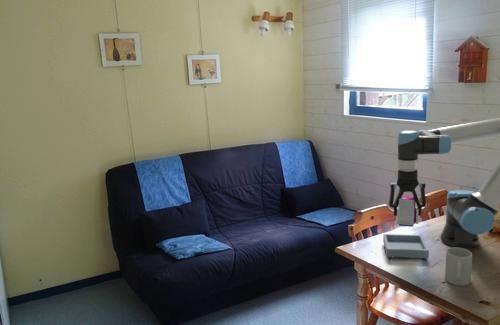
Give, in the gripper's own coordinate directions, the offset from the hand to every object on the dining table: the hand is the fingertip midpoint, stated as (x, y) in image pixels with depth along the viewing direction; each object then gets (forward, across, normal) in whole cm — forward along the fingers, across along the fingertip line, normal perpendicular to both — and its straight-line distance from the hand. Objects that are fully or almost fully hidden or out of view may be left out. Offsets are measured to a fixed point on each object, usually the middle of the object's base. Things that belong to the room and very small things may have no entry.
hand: (407, 222), depth 174 cm
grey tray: (+14, +1, -1) cm, 14 cm away
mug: (+14, -14, +24) cm, 31 cm away
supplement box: (+1, 0, 0) cm, 1 cm away
